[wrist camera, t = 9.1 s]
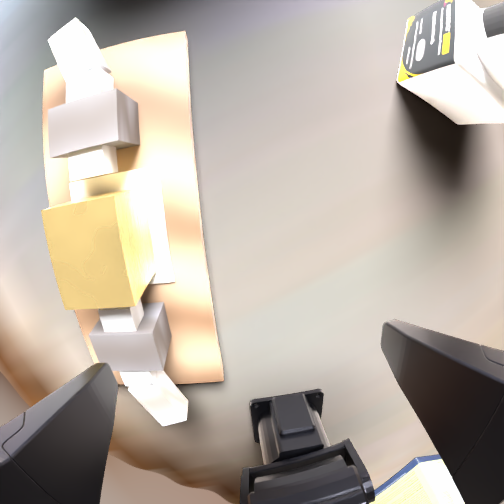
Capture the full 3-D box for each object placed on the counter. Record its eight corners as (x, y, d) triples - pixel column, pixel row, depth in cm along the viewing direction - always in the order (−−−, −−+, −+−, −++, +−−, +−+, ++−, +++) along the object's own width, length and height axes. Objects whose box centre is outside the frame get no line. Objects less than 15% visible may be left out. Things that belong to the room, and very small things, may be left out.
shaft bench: (225, 378, 22) (227, 427, 17) (112, 382, 21) (95, 425, 16) (187, 27, 14) (177, -13, 9) (55, 62, 14) (16, 42, 9)
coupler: (144, 186, 16) (113, 195, 11) (156, 268, 17) (135, 306, 12) (84, 197, 15) (41, 210, 11) (99, 274, 17) (65, 309, 12)
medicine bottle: (406, 18, 15) (504, -34, 3) (465, 63, 16) (564, 44, 5) (394, 83, 17) (521, 45, 5) (457, 126, 18) (574, 128, 6)
